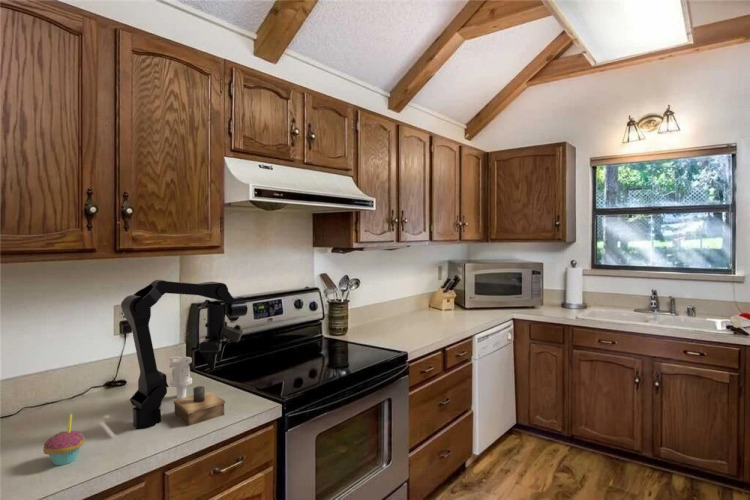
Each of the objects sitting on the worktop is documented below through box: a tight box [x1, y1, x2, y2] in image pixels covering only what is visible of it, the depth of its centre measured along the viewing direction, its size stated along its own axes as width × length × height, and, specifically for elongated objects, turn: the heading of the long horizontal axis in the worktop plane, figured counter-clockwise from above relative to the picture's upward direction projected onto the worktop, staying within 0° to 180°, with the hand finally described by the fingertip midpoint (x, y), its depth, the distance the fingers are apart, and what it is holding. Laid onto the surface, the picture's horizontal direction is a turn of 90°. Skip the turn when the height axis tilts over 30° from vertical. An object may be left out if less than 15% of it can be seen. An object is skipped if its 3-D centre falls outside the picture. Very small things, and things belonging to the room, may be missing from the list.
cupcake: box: [42, 410, 85, 466], centre depth 110 cm, size 9×8×12 cm
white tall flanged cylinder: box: [169, 355, 193, 399], centre depth 151 cm, size 7×7×15 cm
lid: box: [172, 385, 226, 414], centre depth 136 cm, size 11×11×5 cm
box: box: [173, 403, 225, 427], centre depth 136 cm, size 11×11×4 cm
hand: (215, 365), depth 145 cm, fingers open, 9 cm apart
